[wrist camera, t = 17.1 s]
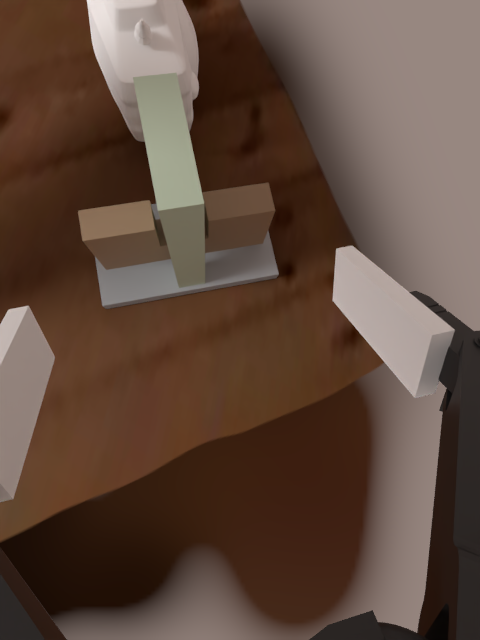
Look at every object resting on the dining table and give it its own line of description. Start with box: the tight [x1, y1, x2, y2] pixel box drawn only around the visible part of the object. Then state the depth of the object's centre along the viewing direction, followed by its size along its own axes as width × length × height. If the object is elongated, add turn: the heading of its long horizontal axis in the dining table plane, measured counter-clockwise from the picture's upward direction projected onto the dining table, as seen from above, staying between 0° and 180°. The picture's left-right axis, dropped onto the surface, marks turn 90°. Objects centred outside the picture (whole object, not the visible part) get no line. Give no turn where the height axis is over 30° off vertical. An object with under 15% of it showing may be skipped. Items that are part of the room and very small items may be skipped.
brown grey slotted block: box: [78, 183, 279, 309], centre depth 39 cm, size 20×11×10 cm, turn 102°
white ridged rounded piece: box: [87, 0, 199, 142], centre depth 39 cm, size 11×18×16 cm, turn 15°
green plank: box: [133, 73, 205, 288], centre depth 33 cm, size 3×10×18 cm, turn 12°
